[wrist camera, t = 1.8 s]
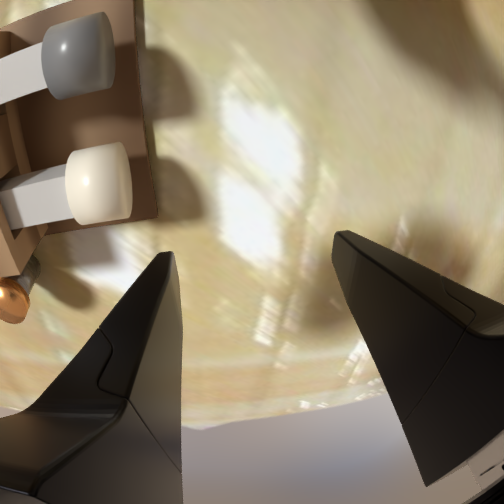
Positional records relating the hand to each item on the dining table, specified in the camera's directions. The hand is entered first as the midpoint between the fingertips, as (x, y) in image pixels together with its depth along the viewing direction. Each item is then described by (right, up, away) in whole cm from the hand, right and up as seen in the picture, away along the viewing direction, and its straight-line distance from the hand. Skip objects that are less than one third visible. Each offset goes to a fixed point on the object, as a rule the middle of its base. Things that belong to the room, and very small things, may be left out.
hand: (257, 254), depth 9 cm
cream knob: (-11, +4, +6) cm, 14 cm away
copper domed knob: (-17, -1, +10) cm, 20 cm away
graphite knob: (-11, +9, +3) cm, 15 cm away
